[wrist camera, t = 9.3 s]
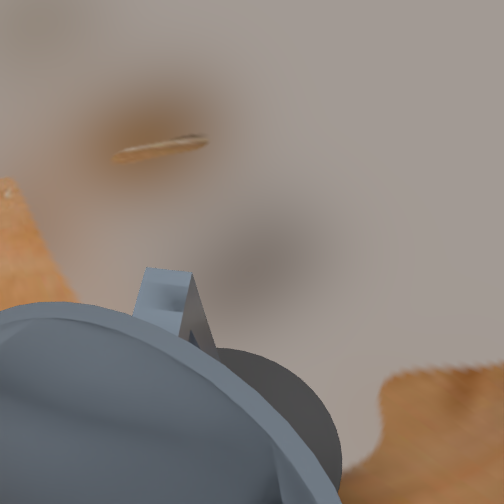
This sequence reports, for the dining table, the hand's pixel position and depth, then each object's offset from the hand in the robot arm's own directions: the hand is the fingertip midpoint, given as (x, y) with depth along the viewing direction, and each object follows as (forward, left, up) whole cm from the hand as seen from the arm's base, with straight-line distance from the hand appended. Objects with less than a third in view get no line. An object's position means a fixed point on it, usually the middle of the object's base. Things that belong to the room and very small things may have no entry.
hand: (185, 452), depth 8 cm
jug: (-1, -1, -7) cm, 7 cm away
